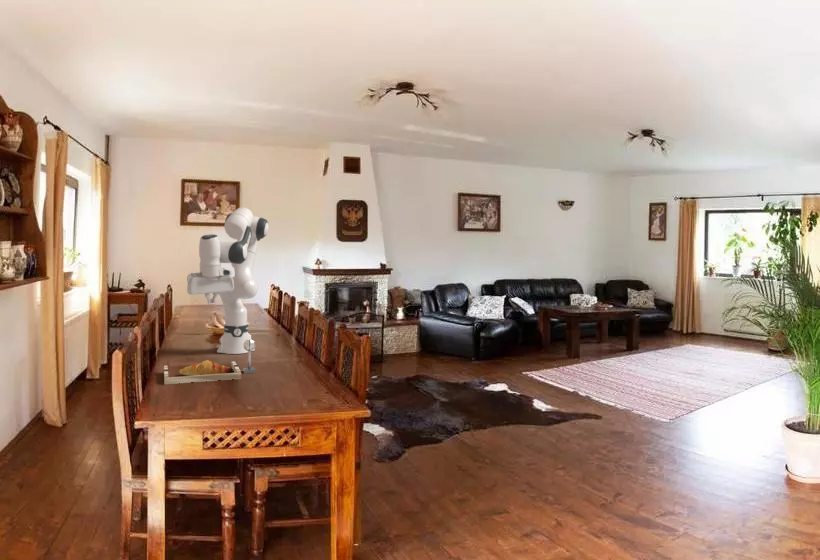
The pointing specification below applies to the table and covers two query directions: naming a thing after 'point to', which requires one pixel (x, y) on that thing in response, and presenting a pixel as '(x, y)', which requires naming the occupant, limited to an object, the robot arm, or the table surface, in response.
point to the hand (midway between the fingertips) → (211, 303)
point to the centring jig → (202, 376)
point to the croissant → (204, 369)
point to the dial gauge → (249, 356)
